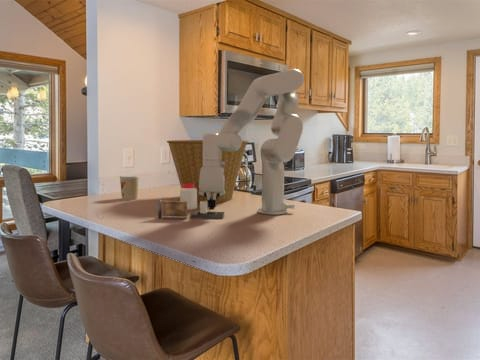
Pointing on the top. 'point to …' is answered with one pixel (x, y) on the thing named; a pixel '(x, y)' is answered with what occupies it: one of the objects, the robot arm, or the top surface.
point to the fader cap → (203, 207)
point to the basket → (191, 161)
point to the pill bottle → (189, 195)
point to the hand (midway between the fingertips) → (211, 209)
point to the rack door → (175, 208)
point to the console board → (207, 215)
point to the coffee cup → (129, 187)
